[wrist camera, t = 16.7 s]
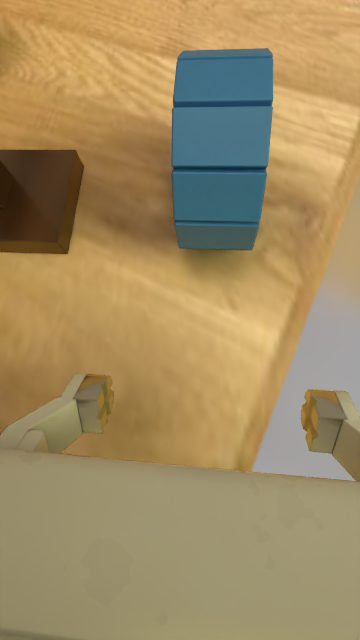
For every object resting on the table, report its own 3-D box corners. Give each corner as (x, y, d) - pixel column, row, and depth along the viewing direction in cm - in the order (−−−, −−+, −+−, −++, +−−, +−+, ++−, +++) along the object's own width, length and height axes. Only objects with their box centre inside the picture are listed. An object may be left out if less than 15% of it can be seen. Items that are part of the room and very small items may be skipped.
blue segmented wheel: (182, 273, 24) (165, 173, 14) (192, 154, 27) (182, 1, 17) (245, 276, 24) (273, 174, 14) (248, 155, 26) (273, -3, 16)
